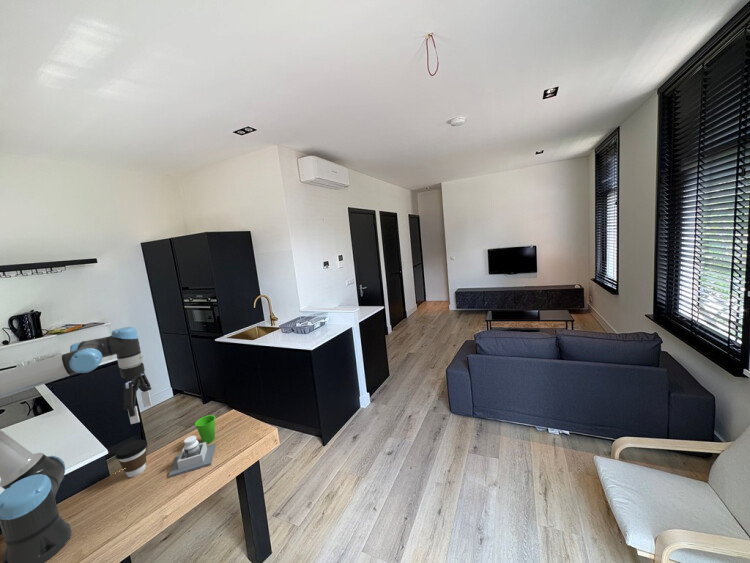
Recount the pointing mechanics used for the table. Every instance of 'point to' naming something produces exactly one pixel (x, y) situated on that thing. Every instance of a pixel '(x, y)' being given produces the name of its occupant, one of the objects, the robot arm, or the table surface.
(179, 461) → the socket
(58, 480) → the robot arm
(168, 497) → the table surface
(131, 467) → the coffee cup
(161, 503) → the table surface
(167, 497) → the table surface
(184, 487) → the table surface
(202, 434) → the cup
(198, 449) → the pill bottle
